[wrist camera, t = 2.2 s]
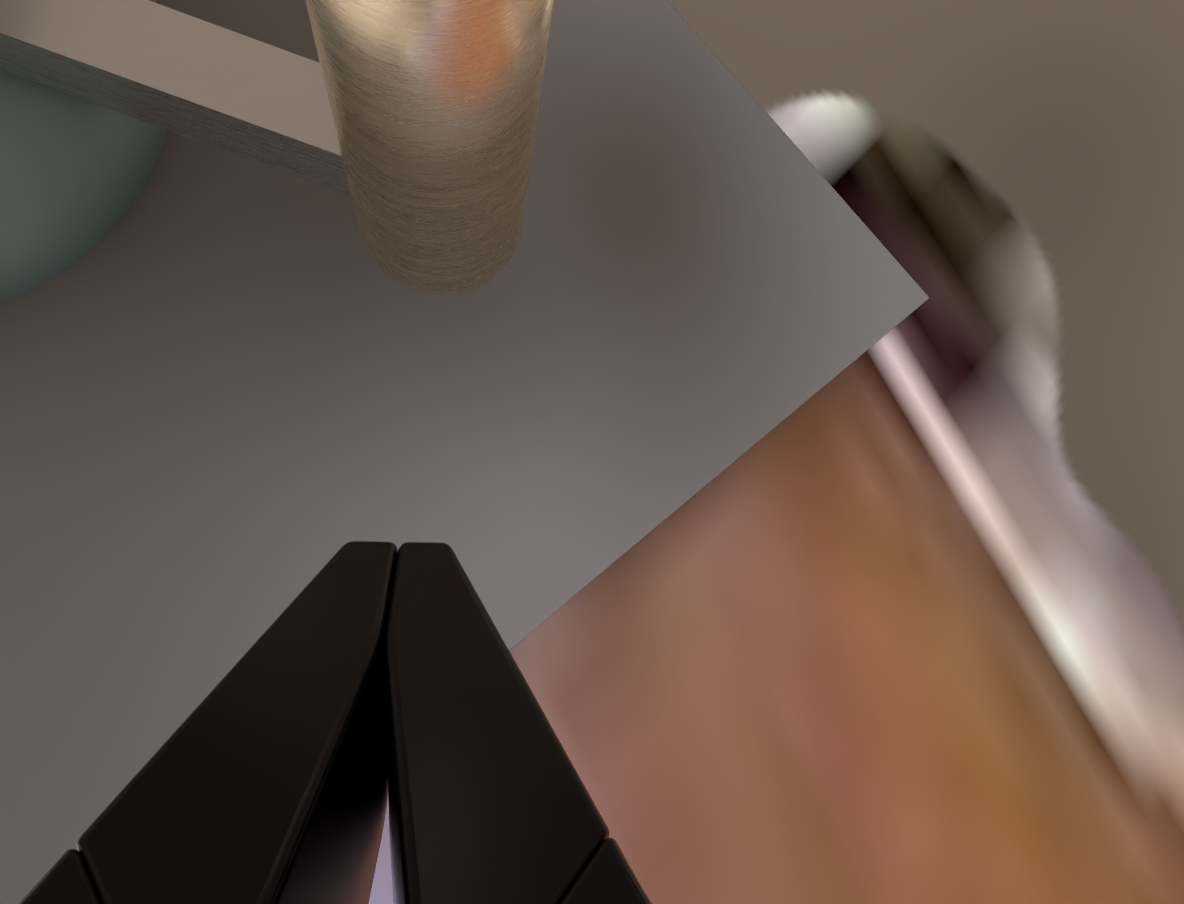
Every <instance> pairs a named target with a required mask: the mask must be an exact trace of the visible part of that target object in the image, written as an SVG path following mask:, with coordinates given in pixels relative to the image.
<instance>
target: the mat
mask: <svg viewBox="0 0 1184 904" xmlns="http://www.w3.org/2000/svg"><path fill="white" fill-rule="evenodd" d="M155 1H156V3H157V4H160V5H163V6H166V7H168V8H171V9H174V10H177V11H179V12H182V13H185V14H187V15H190V16H193V17H196V18H198V19H201V20H204V21H207V22H209V23H212V24H215V25H218V26H220V27H223V28H226V29H228V30H231V31H234V32H237V33H239V34H242V35H245V36H248V37H250V38H253V39H256V40H259V41H261V42H264V43H267V44H269V45H272V46H275V47H278V48H280V49H283V50H286V51H289V52H291V53H294V54H297V55H299V56H302V57H305V58H308V59H310V60H313V61H316V62H319V58H318V53H317V49H316V45H315V41H314V37H313V32H312V28H311V24H310V20H309V15H308V11H307V7H306V3H305V0H155ZM319 63H320V62H319ZM927 299H929V297H928V296H927V295H926V294H925V292H924V291H923V290H922V289H921V288H920V287H919V286H918V284H917V283H916V282H915V281H914V280H913V279H912V278H911V276H910V275H909V274H908V273H907V272H906V271H905V270H904V268H903V267H902V266H901V265H900V264H899V263H898V262H897V260H896V259H895V258H894V257H893V256H892V255H891V254H890V253H889V251H888V250H887V249H886V248H885V247H884V246H883V245H882V243H881V242H880V241H879V240H878V239H877V238H876V237H875V235H874V234H873V233H872V232H871V231H870V230H869V229H868V227H867V226H866V225H865V224H864V223H863V222H862V221H861V219H860V218H859V217H858V216H857V215H856V214H855V213H854V212H853V210H852V209H851V208H850V207H849V206H848V205H847V204H846V202H845V201H844V200H843V199H842V198H841V197H840V196H839V194H838V193H837V192H836V191H835V190H834V189H833V188H832V186H831V185H830V184H829V183H828V182H827V181H826V180H825V178H824V177H823V176H822V175H821V174H820V173H819V172H818V171H817V169H816V168H815V167H814V166H813V165H812V164H811V163H810V161H809V160H808V159H807V158H806V157H805V156H804V155H803V153H802V152H801V151H800V150H799V149H798V148H797V147H796V145H795V144H794V143H793V142H792V141H791V140H790V139H789V137H788V136H787V135H786V134H785V133H784V132H783V131H782V130H781V128H780V127H779V126H778V125H777V124H776V123H775V122H774V120H773V119H772V118H771V117H770V116H769V115H768V114H767V112H766V111H765V110H764V109H763V108H762V107H761V106H760V105H759V103H758V102H757V101H756V100H755V99H754V98H753V96H752V95H751V94H750V93H749V92H748V91H747V90H746V89H745V87H744V86H743V85H742V84H741V83H740V82H739V81H738V79H737V78H736V77H735V76H734V75H733V74H732V73H731V72H730V70H729V69H728V68H727V67H726V66H725V65H724V63H723V62H722V61H721V60H720V59H719V58H718V57H717V56H716V54H715V53H714V52H713V51H712V50H711V49H710V48H709V47H708V45H707V44H706V43H705V42H704V41H703V40H702V38H701V37H700V36H699V35H698V34H697V33H696V32H695V30H694V29H693V28H692V27H691V26H690V25H689V24H688V22H687V21H686V20H685V19H684V18H683V17H682V16H681V15H680V13H678V11H677V10H676V9H675V8H674V7H673V5H672V4H671V3H670V2H669V1H668V0H554V2H553V9H552V16H551V23H550V31H549V38H548V45H547V52H546V59H545V67H544V74H543V81H542V88H541V95H540V102H539V110H538V117H537V124H536V131H535V138H534V146H533V153H532V160H531V167H530V174H529V181H528V189H527V196H526V203H525V210H524V217H523V224H522V231H521V237H520V240H519V244H518V246H517V249H516V251H515V253H514V255H513V256H512V258H511V260H510V261H509V263H508V264H507V265H506V266H505V267H504V268H503V270H502V271H501V272H499V273H498V274H497V275H496V276H495V277H494V278H492V279H491V280H489V281H488V282H486V283H484V284H483V285H481V286H479V287H477V288H474V289H471V290H468V291H464V292H460V293H454V294H431V293H425V292H421V291H417V290H414V289H411V288H409V287H406V286H404V285H402V284H400V283H398V282H397V281H395V280H393V279H392V278H391V277H389V276H388V275H387V274H385V273H384V272H383V271H382V270H381V269H380V268H379V267H378V266H377V265H376V263H375V262H374V261H373V260H372V258H371V257H370V255H369V253H368V252H367V250H366V248H365V246H364V243H363V241H362V238H361V234H360V230H359V226H358V222H357V218H356V214H355V210H354V205H353V201H352V197H351V196H349V195H346V194H344V193H341V192H338V191H335V190H333V189H330V188H327V187H324V186H321V185H319V184H316V183H313V182H310V181H307V180H305V179H302V178H299V177H296V176H294V175H291V174H288V173H285V172H282V171H280V170H277V169H274V168H271V167H268V166H266V165H263V164H260V163H257V162H255V161H252V160H249V159H246V158H243V157H241V156H238V155H235V154H232V153H229V152H227V151H224V150H221V149H218V148H216V147H213V146H210V145H207V144H204V143H202V142H199V141H196V140H193V139H190V138H188V137H185V136H182V135H179V134H177V133H174V132H171V131H168V133H167V136H166V140H165V143H164V147H163V150H162V153H161V155H160V157H159V159H158V162H157V164H156V166H155V169H154V171H153V173H152V175H151V178H150V179H149V181H148V183H147V184H146V186H145V187H144V189H143V191H142V192H141V194H140V196H139V197H138V199H137V200H136V202H135V204H134V205H133V206H132V208H131V209H130V210H129V211H128V212H127V214H126V215H125V216H124V217H123V219H122V220H121V221H120V222H119V223H118V225H117V226H116V227H115V228H114V229H113V231H112V232H111V233H109V234H108V235H107V236H106V237H105V238H104V239H103V240H102V241H101V242H100V243H99V244H98V245H97V246H96V247H95V248H93V249H92V250H91V251H90V252H89V253H88V254H87V255H86V256H84V257H83V258H81V259H80V260H79V261H77V262H76V263H75V264H73V265H72V266H70V267H69V268H68V269H66V270H65V271H64V272H62V273H61V274H59V275H58V276H56V277H54V278H52V279H50V280H49V281H47V282H45V283H43V284H42V285H40V286H38V287H36V288H34V289H33V290H31V291H29V292H27V293H25V294H22V295H20V296H17V297H15V298H13V299H10V300H8V301H5V302H3V303H1V304H0V904H19V903H20V902H21V900H22V899H23V898H24V897H25V896H26V895H27V894H28V893H29V892H30V891H31V890H32V889H33V887H34V886H35V885H36V884H37V883H38V882H39V881H40V880H41V879H42V878H43V876H44V875H45V874H46V873H47V872H48V871H49V870H50V869H51V868H52V866H53V865H54V864H55V863H56V862H57V861H58V860H59V859H60V857H61V856H62V855H63V854H64V853H65V852H66V851H67V850H69V849H76V850H77V846H76V842H77V840H78V838H79V837H80V836H81V835H82V834H83V833H84V832H85V831H86V830H87V828H88V827H89V826H90V825H91V824H92V823H93V822H94V821H95V820H96V819H97V817H98V816H99V815H100V814H101V813H102V812H103V811H104V810H105V809H106V807H107V806H108V805H109V804H110V803H111V802H112V801H113V800H114V799H115V797H116V796H117V795H118V794H119V793H120V792H121V791H122V790H123V789H124V788H125V786H126V785H127V784H128V783H129V782H130V781H131V780H132V779H133V778H134V776H135V775H136V774H137V773H138V772H139V771H140V770H141V769H142V768H143V767H144V765H145V764H146V763H147V762H148V761H149V760H150V759H151V758H152V757H153V755H154V754H155V753H156V752H157V751H158V750H159V749H160V748H161V747H162V745H163V744H164V743H165V742H166V741H167V740H168V739H169V738H170V737H171V736H172V734H173V733H174V732H175V731H176V730H177V729H178V728H179V727H180V726H181V724H182V723H183V722H184V721H185V720H186V719H187V718H188V717H189V716H190V715H191V713H192V712H193V711H194V710H195V709H196V708H197V707H198V706H199V705H200V703H201V702H202V701H203V700H204V699H205V698H206V697H207V696H208V695H209V693H210V692H211V691H212V690H213V689H214V688H215V687H216V686H217V685H218V684H219V682H220V681H221V680H222V679H223V678H224V677H225V676H226V675H227V674H228V672H229V671H230V670H231V669H232V668H233V667H234V666H235V665H236V664H237V662H238V661H239V660H240V659H241V658H242V657H243V656H244V655H245V654H246V653H247V651H248V650H249V649H250V648H251V647H252V646H253V645H254V644H255V643H256V641H257V640H258V639H259V638H260V637H261V636H262V635H263V634H264V633H265V632H266V630H267V629H268V628H269V627H270V626H271V625H272V624H273V623H274V622H275V620H276V619H277V618H278V617H279V616H280V615H281V614H282V613H283V612H284V610H285V609H286V608H287V607H288V606H289V605H290V604H291V603H292V602H293V601H294V599H295V598H296V597H297V596H298V595H299V594H300V593H301V592H302V591H303V589H304V588H305V587H306V586H307V585H308V584H309V583H310V582H311V581H312V579H313V578H314V577H315V576H316V575H317V574H318V573H319V572H320V571H321V570H322V568H323V567H324V566H325V565H326V564H327V563H328V562H329V561H330V560H331V558H332V557H333V556H334V555H335V554H336V553H337V552H338V551H339V550H340V549H341V547H342V546H343V545H345V544H346V543H348V542H352V541H379V542H392V543H394V544H395V545H396V547H397V548H398V549H399V548H400V546H401V545H402V544H403V543H405V542H439V543H446V544H448V545H449V546H450V547H451V548H452V549H453V551H454V553H455V554H456V556H457V558H458V560H459V562H460V563H461V565H462V567H463V569H464V571H465V572H466V574H467V576H468V578H469V580H470V581H471V583H472V585H473V587H474V589H475V590H476V592H477V594H478V596H479V598H480V599H481V601H482V603H483V605H484V607H485V608H486V610H487V612H488V614H489V616H490V617H491V619H492V621H493V623H494V624H495V626H496V628H497V630H498V632H499V633H500V635H501V637H502V639H503V641H504V642H505V644H506V646H507V648H508V650H509V649H511V648H512V647H513V646H514V645H515V644H517V643H518V642H519V641H520V640H521V639H522V638H524V637H525V636H526V635H527V634H528V633H530V632H531V631H532V630H533V629H534V628H536V627H537V626H538V625H539V624H540V623H542V622H543V621H544V620H545V619H546V618H548V617H549V616H550V615H551V614H552V613H554V612H555V611H556V610H557V609H558V608H560V607H561V606H562V605H563V604H564V603H565V602H567V601H568V600H569V599H570V598H571V597H573V596H574V595H575V594H576V593H577V592H579V591H580V590H581V589H582V588H583V587H585V586H586V585H587V584H588V583H589V582H591V581H592V580H593V579H594V578H595V577H597V576H598V575H599V574H600V573H601V572H603V571H604V570H605V569H606V568H607V567H608V566H610V565H611V564H612V563H613V562H614V561H616V560H617V559H618V558H619V557H620V556H622V555H623V554H624V553H625V552H626V551H628V550H629V549H630V548H631V547H632V546H634V545H635V544H636V543H637V542H638V541H640V540H641V539H642V538H643V537H644V536H646V535H647V534H648V533H649V532H650V531H651V530H653V529H654V528H655V527H656V526H657V525H659V524H660V523H661V522H662V521H663V520H665V519H666V518H667V517H668V516H669V515H671V514H672V513H673V512H674V511H675V510H677V509H678V508H679V507H680V506H681V505H683V504H684V503H685V502H686V501H687V500H689V499H690V498H691V497H692V496H693V495H694V494H696V493H697V492H698V491H699V490H700V489H702V488H703V487H704V486H705V485H706V484H708V483H709V482H710V481H711V480H712V479H714V478H715V477H716V476H717V475H718V474H720V473H721V472H722V471H723V470H724V469H726V468H727V467H728V466H729V465H730V464H732V463H733V462H734V461H735V460H736V459H737V458H739V457H740V456H741V455H742V454H743V453H745V452H746V451H747V450H748V449H749V448H751V447H752V446H753V445H754V444H755V443H757V442H758V441H759V440H760V439H761V438H763V437H764V436H765V435H766V434H767V433H769V432H770V431H771V430H772V429H773V428H775V427H776V426H777V425H778V424H779V423H780V422H782V421H783V420H784V419H785V418H786V417H788V416H789V415H790V414H791V413H792V412H794V411H795V410H796V409H797V408H798V407H800V406H801V405H802V404H803V403H804V402H806V401H807V400H808V399H809V398H810V397H812V396H813V395H814V394H815V393H816V392H818V391H819V390H820V389H821V388H822V387H823V386H825V385H826V384H827V383H828V382H829V381H831V380H832V379H833V378H834V377H835V376H837V375H838V374H839V373H840V372H841V371H843V370H844V369H845V368H846V367H847V366H849V365H850V364H851V363H852V362H853V361H855V360H856V359H857V358H858V357H859V356H861V355H862V354H863V353H864V352H865V351H866V350H868V349H869V348H870V347H871V346H872V345H874V344H875V343H876V342H877V341H878V340H880V339H881V338H882V337H883V336H884V335H886V334H887V333H888V332H889V331H890V330H892V329H893V328H894V327H895V326H896V325H898V324H899V323H900V322H901V321H902V320H904V319H905V318H906V317H907V316H908V315H909V314H911V313H912V312H913V311H914V310H915V309H917V308H918V307H919V306H920V305H921V304H923V303H924V302H925V301H926V300H927Z"/></svg>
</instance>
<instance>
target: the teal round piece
mask: <svg viewBox="0 0 1184 904" xmlns="http://www.w3.org/2000/svg"><path fill="white" fill-rule="evenodd" d="M149 1H152V2H155V3H156V1H155V0H149ZM167 133H168V130H165V129H163V128H160V127H157V126H154V125H151V124H149V123H146V122H143V121H140V120H138V119H135V118H132V117H129V116H126V115H124V114H121V113H118V112H115V111H112V110H110V109H107V108H104V107H101V106H99V105H96V104H93V103H90V102H87V101H85V100H82V99H79V98H76V97H73V96H71V95H68V94H65V93H62V92H60V91H57V90H54V89H51V88H48V87H46V86H43V85H40V84H37V83H34V82H32V81H29V80H26V79H23V78H21V77H18V76H15V75H12V74H9V73H7V72H4V71H1V70H0V304H1V303H3V302H5V301H8V300H10V299H13V298H15V297H17V296H20V295H22V294H25V293H27V292H29V291H31V290H33V289H34V288H36V287H38V286H40V285H42V284H43V283H45V282H47V281H49V280H50V279H52V278H54V277H56V276H58V275H59V274H61V273H62V272H64V271H65V270H66V269H68V268H69V267H70V266H72V265H73V264H75V263H76V262H77V261H79V260H80V259H81V258H83V257H84V256H86V255H87V254H88V253H89V252H90V251H91V250H92V249H93V248H95V247H96V246H97V245H98V244H99V243H100V242H101V241H102V240H103V239H104V238H105V237H106V236H107V235H108V234H109V233H111V232H112V231H113V229H114V228H115V227H116V226H117V225H118V223H119V222H120V221H121V220H122V219H123V217H124V216H125V215H126V214H127V212H128V211H129V210H130V209H131V208H132V206H133V205H134V204H135V202H136V200H137V199H138V197H139V196H140V194H141V192H142V191H143V189H144V187H145V186H146V184H147V183H148V181H149V179H150V178H151V175H152V173H153V171H154V169H155V166H156V164H157V162H158V159H159V157H160V155H161V153H162V150H163V147H164V143H165V140H166V136H167Z"/></svg>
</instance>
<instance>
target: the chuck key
mask: <svg viewBox="0 0 1184 904" xmlns="http://www.w3.org/2000/svg"><path fill="white" fill-rule="evenodd" d="M553 2H554V0H305V3H306V7H307V11H308V15H309V20H310V24H311V28H312V32H313V37H314V41H315V45H316V49H317V53H318V58H319V62H320V63H319V62H316V61H313V60H310V59H308V58H305V57H302V56H299V55H297V54H294V53H291V52H289V51H286V50H283V49H280V48H278V47H275V46H272V45H269V44H267V43H264V42H261V41H259V40H256V39H253V38H250V37H248V36H245V35H242V34H239V33H237V32H234V31H231V30H228V29H226V28H223V27H220V26H218V25H215V24H212V23H209V22H207V21H204V20H201V19H198V18H196V17H193V16H190V15H187V14H185V13H182V12H179V11H177V10H174V9H171V8H168V7H166V6H163V5H160V4H157V3H155V2H152V1H149V0H0V70H1V71H4V72H7V73H9V74H12V75H15V76H18V77H21V78H23V79H26V80H29V81H32V82H34V83H37V84H40V85H43V86H46V87H48V88H51V89H54V90H57V91H60V92H62V93H65V94H68V95H71V96H73V97H76V98H79V99H82V100H85V101H87V102H90V103H93V104H96V105H99V106H101V107H104V108H107V109H110V110H112V111H115V112H118V113H121V114H124V115H126V116H129V117H132V118H135V119H138V120H140V121H143V122H146V123H149V124H151V125H154V126H157V127H160V128H163V129H165V130H168V131H171V132H174V133H177V134H179V135H182V136H185V137H188V138H190V139H193V140H196V141H199V142H202V143H204V144H207V145H210V146H213V147H216V148H218V149H221V150H224V151H227V152H229V153H232V154H235V155H238V156H241V157H243V158H246V159H249V160H252V161H255V162H257V163H260V164H263V165H266V166H268V167H271V168H274V169H277V170H280V171H282V172H285V173H288V174H291V175H294V176H296V177H299V178H302V179H305V180H307V181H310V182H313V183H316V184H319V185H321V186H324V187H327V188H330V189H333V190H335V191H338V192H341V193H344V194H346V195H349V196H351V197H352V201H353V205H354V210H355V214H356V218H357V222H358V226H359V230H360V234H361V238H362V241H363V243H364V246H365V248H366V250H367V252H368V253H369V255H370V257H371V258H372V260H373V261H374V262H375V263H376V265H377V266H378V267H379V268H380V269H381V270H382V271H383V272H384V273H385V274H387V275H388V276H389V277H391V278H392V279H393V280H395V281H397V282H398V283H400V284H402V285H404V286H406V287H409V288H411V289H414V290H417V291H421V292H425V293H431V294H454V293H460V292H464V291H468V290H471V289H474V288H477V287H479V286H481V285H483V284H484V283H486V282H488V281H489V280H491V279H492V278H494V277H495V276H496V275H497V274H498V273H499V272H501V271H502V270H503V268H504V267H505V266H506V265H507V264H508V263H509V261H510V260H511V258H512V256H513V255H514V253H515V251H516V249H517V246H518V244H519V240H520V237H521V231H522V224H523V217H524V210H525V203H526V196H527V189H528V181H529V174H530V167H531V160H532V153H533V146H534V138H535V131H536V124H537V117H538V110H539V102H540V95H541V88H542V81H543V74H544V67H545V59H546V52H547V45H548V38H549V31H550V23H551V16H552V9H553Z"/></svg>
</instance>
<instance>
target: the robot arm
mask: <svg viewBox="0 0 1184 904" xmlns="http://www.w3.org/2000/svg"><path fill="white" fill-rule="evenodd" d="M388 794H389V828H390V849H391V866H392V883H393V900H394V904H652V903H651V902H650V900H649V898H648V897H647V895H646V894H645V892H644V890H643V889H642V887H641V885H640V884H639V882H638V880H637V878H636V877H635V875H634V873H633V871H632V869H631V868H630V866H629V864H628V862H627V860H626V859H625V857H624V855H623V853H622V851H621V850H620V848H619V846H618V844H617V842H616V841H615V840H614V839H613V838H609V829H608V827H607V826H606V824H605V822H604V820H603V818H602V817H601V815H600V813H599V811H598V809H597V808H596V806H595V804H594V802H593V800H592V799H591V797H590V795H589V793H588V791H587V790H586V788H585V786H584V784H583V782H582V781H581V779H580V777H579V775H578V773H577V772H576V770H575V768H574V766H573V765H572V763H571V761H570V759H569V757H568V756H567V754H566V752H565V750H564V748H563V747H562V745H561V743H560V741H559V739H558V738H557V736H556V734H555V732H554V730H553V729H552V727H551V725H550V723H549V721H548V720H547V718H546V716H545V714H544V712H543V711H542V709H541V707H540V705H539V703H538V702H537V700H536V698H535V696H534V695H533V693H532V691H531V689H530V687H529V686H528V684H527V682H526V680H525V678H524V677H523V675H522V673H521V671H520V669H519V668H518V666H517V664H516V662H515V660H514V659H513V657H512V655H511V653H510V651H509V650H508V648H507V646H506V644H505V642H504V641H503V639H502V637H501V635H500V633H499V632H498V630H497V628H496V626H495V624H494V623H493V621H492V619H491V617H490V616H489V614H488V612H487V610H486V608H485V607H484V605H483V603H482V601H481V599H480V598H479V596H478V594H477V592H476V590H475V589H474V587H473V585H472V583H471V581H470V580H469V578H468V576H467V574H466V572H465V571H464V569H463V567H462V565H461V563H460V562H459V560H458V558H457V556H456V554H455V553H454V551H453V549H452V548H451V547H450V546H449V545H448V544H446V543H439V542H405V543H403V544H402V545H401V546H400V548H399V549H398V548H397V547H396V545H395V544H394V543H392V542H379V541H352V542H348V543H346V544H345V545H343V546H342V547H341V549H340V550H339V551H338V552H337V553H336V554H335V555H334V556H333V557H332V558H331V560H330V561H329V562H328V563H327V564H326V565H325V566H324V567H323V568H322V570H321V571H320V572H319V573H318V574H317V575H316V576H315V577H314V578H313V579H312V581H311V582H310V583H309V584H308V585H307V586H306V587H305V588H304V589H303V591H302V592H301V593H300V594H299V595H298V596H297V597H296V598H295V599H294V601H293V602H292V603H291V604H290V605H289V606H288V607H287V608H286V609H285V610H284V612H283V613H282V614H281V615H280V616H279V617H278V618H277V619H276V620H275V622H274V623H273V624H272V625H271V626H270V627H269V628H268V629H267V630H266V632H265V633H264V634H263V635H262V636H261V637H260V638H259V639H258V640H257V641H256V643H255V644H254V645H253V646H252V647H251V648H250V649H249V650H248V651H247V653H246V654H245V655H244V656H243V657H242V658H241V659H240V660H239V661H238V662H237V664H236V665H235V666H234V667H233V668H232V669H231V670H230V671H229V672H228V674H227V675H226V676H225V677H224V678H223V679H222V680H221V681H220V682H219V684H218V685H217V686H216V687H215V688H214V689H213V690H212V691H211V692H210V693H209V695H208V696H207V697H206V698H205V699H204V700H203V701H202V702H201V703H200V705H199V706H198V707H197V708H196V709H195V710H194V711H193V712H192V713H191V715H190V716H189V717H188V718H187V719H186V720H185V721H184V722H183V723H182V724H181V726H180V727H179V728H178V729H177V730H176V731H175V732H174V733H173V734H172V736H171V737H170V738H169V739H168V740H167V741H166V742H165V743H164V744H163V745H162V747H161V748H160V749H159V750H158V751H157V752H156V753H155V754H154V755H153V757H152V758H151V759H150V760H149V761H148V762H147V763H146V764H145V765H144V767H143V768H142V769H141V770H140V771H139V772H138V773H137V774H136V775H135V776H134V778H133V779H132V780H131V781H130V782H129V783H128V784H127V785H126V786H125V788H124V789H123V790H122V791H121V792H120V793H119V794H118V795H117V796H116V797H115V799H114V800H113V801H112V802H111V803H110V804H109V805H108V806H107V807H106V809H105V810H104V811H103V812H102V813H101V814H100V815H99V816H98V817H97V819H96V820H95V821H94V822H93V823H92V824H91V825H90V826H89V827H88V828H87V830H86V831H85V832H84V833H83V834H82V835H81V836H80V837H79V838H78V840H77V842H76V846H77V850H76V849H69V850H67V851H66V852H65V853H64V854H63V855H62V856H61V857H60V859H59V860H58V861H57V862H56V863H55V864H54V865H53V866H52V868H51V869H50V870H49V871H48V872H47V873H46V874H45V875H44V876H43V878H42V879H41V880H40V881H39V882H38V883H37V884H36V885H35V886H34V887H33V889H32V890H31V891H30V892H29V893H28V894H27V895H26V896H25V897H24V898H23V899H22V900H21V902H20V903H19V904H368V903H369V898H370V893H371V888H372V882H373V877H374V872H375V867H376V862H377V857H378V852H379V847H380V842H381V837H382V831H383V825H384V819H385V814H386V807H387V798H388Z"/></svg>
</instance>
